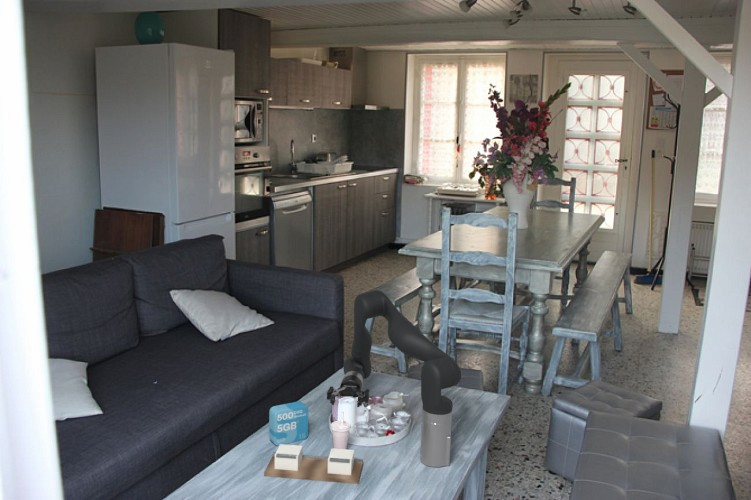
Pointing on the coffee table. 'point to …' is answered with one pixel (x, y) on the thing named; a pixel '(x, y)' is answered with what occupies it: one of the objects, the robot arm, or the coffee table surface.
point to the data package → (288, 423)
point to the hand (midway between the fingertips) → (345, 403)
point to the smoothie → (340, 433)
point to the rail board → (314, 465)
